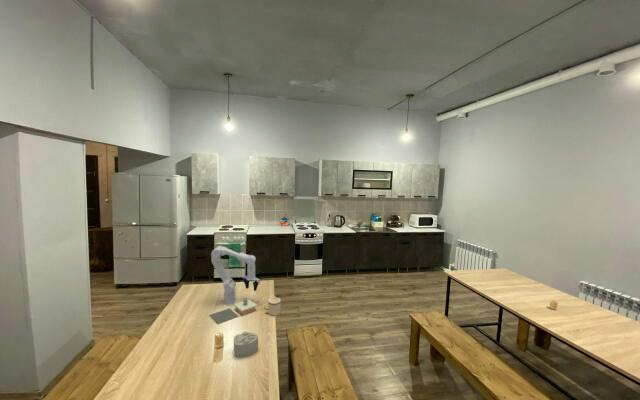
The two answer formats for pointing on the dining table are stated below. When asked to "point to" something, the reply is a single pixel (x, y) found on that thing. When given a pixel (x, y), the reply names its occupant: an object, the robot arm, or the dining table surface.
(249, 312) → the dish
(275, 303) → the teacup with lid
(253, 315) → the dining table surface
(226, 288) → the robot arm
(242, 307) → the lid
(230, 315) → the mat
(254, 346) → the lumpy-topped squat cylinder
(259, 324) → the dining table surface
